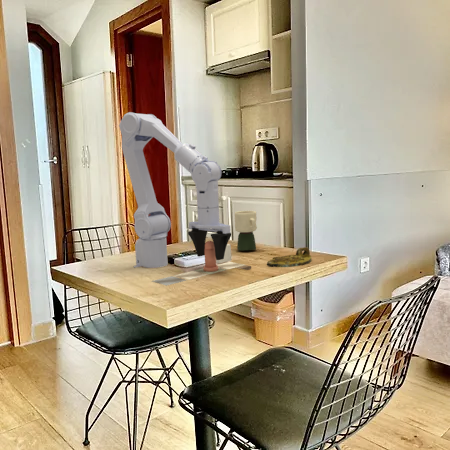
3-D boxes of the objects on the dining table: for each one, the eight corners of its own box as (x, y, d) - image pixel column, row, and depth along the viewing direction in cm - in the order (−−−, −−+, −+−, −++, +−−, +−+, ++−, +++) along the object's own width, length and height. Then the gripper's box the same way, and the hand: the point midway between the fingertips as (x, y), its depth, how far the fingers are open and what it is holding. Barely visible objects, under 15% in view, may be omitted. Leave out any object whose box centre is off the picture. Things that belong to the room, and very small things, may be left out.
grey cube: (208, 261, 145) (207, 245, 144) (220, 258, 148) (219, 242, 147) (219, 263, 141) (218, 246, 140) (231, 260, 145) (230, 244, 144)
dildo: (200, 270, 129) (199, 241, 128) (211, 267, 132) (210, 239, 130) (210, 272, 126) (209, 242, 125) (221, 269, 129) (220, 240, 128)
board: (146, 284, 121) (146, 280, 120) (226, 264, 140) (226, 260, 140) (170, 290, 113) (170, 286, 113) (251, 268, 132) (251, 265, 132)
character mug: (264, 252, 155) (263, 212, 153) (245, 254, 152) (244, 214, 150) (247, 247, 165) (246, 209, 163) (229, 249, 161) (228, 211, 160)
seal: (278, 274, 131) (320, 265, 138) (278, 258, 130) (321, 250, 137) (259, 264, 139) (299, 257, 146) (259, 249, 138) (300, 242, 145)
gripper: (179, 207, 129) (181, 256, 131) (215, 210, 118) (217, 263, 120) (199, 205, 134) (201, 252, 136) (235, 207, 123) (237, 259, 125)
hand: (210, 257), depth 128 cm, fingers open, 7 cm apart
